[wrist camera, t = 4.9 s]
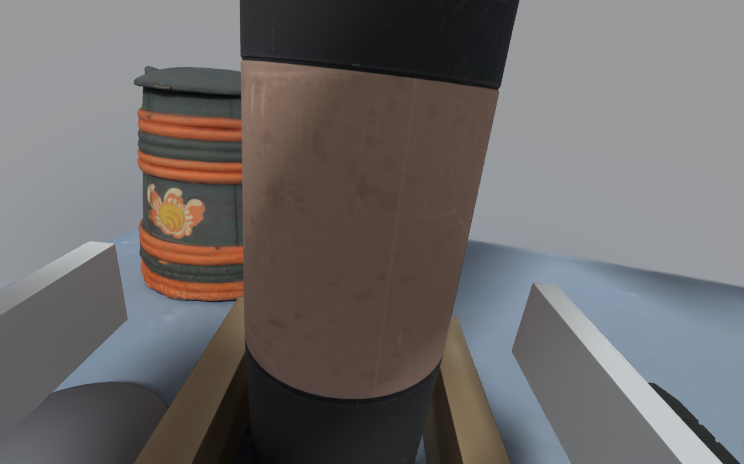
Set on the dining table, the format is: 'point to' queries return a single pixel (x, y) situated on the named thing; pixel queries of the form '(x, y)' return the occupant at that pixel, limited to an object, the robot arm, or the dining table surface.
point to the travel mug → (358, 212)
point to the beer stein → (191, 183)
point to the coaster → (86, 426)
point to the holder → (231, 412)
